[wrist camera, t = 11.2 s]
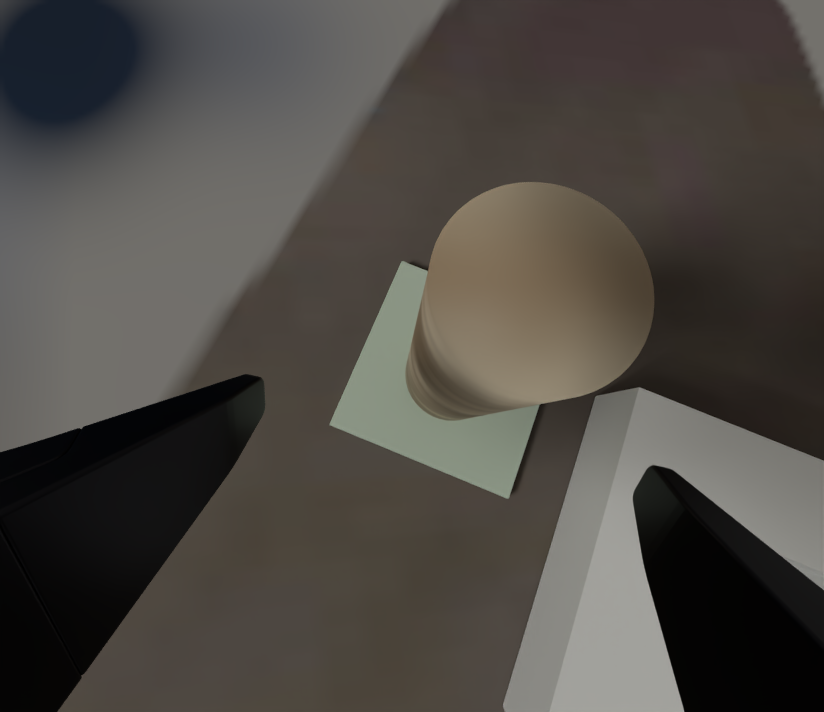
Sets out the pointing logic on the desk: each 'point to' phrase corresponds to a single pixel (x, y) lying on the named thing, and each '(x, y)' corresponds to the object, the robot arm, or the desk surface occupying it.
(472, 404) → the wooden peg
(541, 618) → the pocket block
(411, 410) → the green pad
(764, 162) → the desk surface
